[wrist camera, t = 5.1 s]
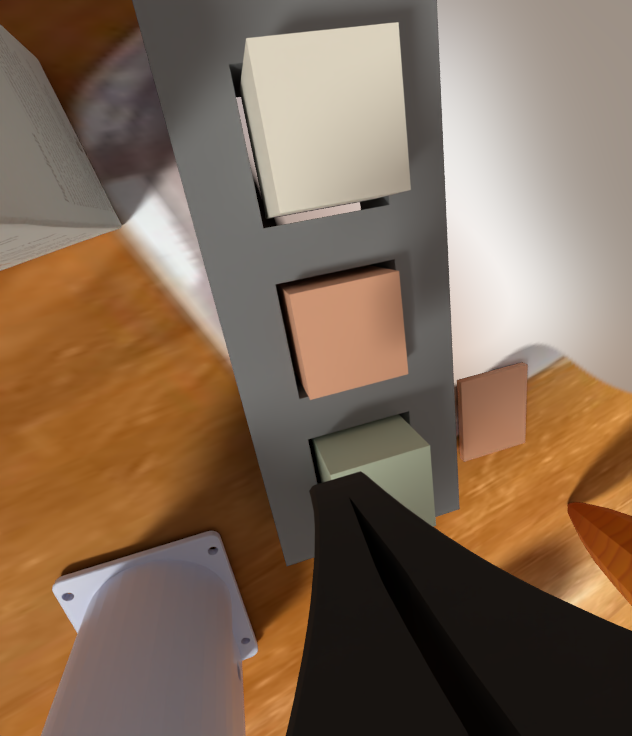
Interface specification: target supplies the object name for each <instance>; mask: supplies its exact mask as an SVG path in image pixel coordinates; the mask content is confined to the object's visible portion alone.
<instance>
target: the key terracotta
mask: <svg viewBox="0 0 632 736" xmlns="http://www.w3.org/2000/svg"><path fill="white" fill-rule="evenodd" d="M276 287H277V292H278V297H279V302H280V306H281V311H282V316H283V321H284V325H285V330H286V335H287V340H288V344H289V349H290V354H291V359H292V363H293V368H294V371H295V373H296V375H297V376H298V378H299V380H300V382H301V384H302V386H303V387H304V389H305V391H306V393H307V395H308V397H309V398H310V400H312V399H316V398H320V397H323V396H327V395H331V394H335V393H339V392H342V391H346V390H350V389H354V388H358V387H361V386H365V385H369V384H373V383H376V382H380V381H384V380H388V379H392V378H395V377H399V376H403V375H407V374H408V364H407V353H406V342H405V331H404V320H403V309H402V298H401V287H400V276H399V271H397V270H391V269H386V268H381V267H376V266H371V265H365V266H360V267H355V268H351V269H346V270H341V271H336V272H332V273H327V274H322V275H318V276H313V277H308V278H303V279H299V280H294V281H289V282H284V283H280V284H276Z"/></svg>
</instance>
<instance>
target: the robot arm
mask: <svg viewBox="0 0 632 736" xmlns="http://www.w3.org/2000/svg"><path fill="white" fill-rule="evenodd" d="M309 493H310V497H311V502H312V506H313V511H314V523H315V552H314V570H313V582H312V593H311V603H310V611H309V619H308V626H307V632H306V638H305V645H304V651H303V656H302V662H301V667H300V672H299V677H298V682H297V687H296V692H295V697H294V702H293V706H292V711H291V716H290V720H289V724H288V729H287V733H286V736H632V631H631V630H628V629H626V628H623V627H621V626H618V625H616V624H614V623H611V622H609V621H607V620H605V619H602V618H600V617H598V616H596V615H594V614H591V613H589V612H587V611H585V610H583V609H581V608H578V607H576V606H574V605H572V604H570V603H568V602H565V601H563V600H561V599H559V598H557V597H554V596H552V595H550V594H548V593H546V592H544V591H542V590H540V589H538V588H536V587H534V586H532V585H530V584H528V583H526V582H524V581H522V580H520V579H518V578H517V577H515V576H513V575H511V574H509V573H507V572H506V571H504V570H502V569H500V568H498V567H497V566H495V565H493V564H491V563H489V562H488V561H486V560H484V559H483V558H481V557H479V556H478V555H476V554H474V553H473V552H471V551H469V550H468V549H466V548H465V547H463V546H461V545H460V544H458V543H457V542H455V541H454V540H452V539H451V538H449V537H447V536H446V535H444V534H443V533H441V532H440V531H439V530H437V529H436V528H434V527H433V526H431V525H430V524H428V523H427V522H426V521H424V520H423V519H421V518H420V517H419V516H417V515H416V514H415V513H413V512H412V511H410V510H409V509H408V508H406V507H405V506H404V505H402V504H401V503H400V502H399V501H397V500H396V499H395V498H393V497H392V496H391V495H390V494H388V493H387V492H386V491H385V490H384V489H382V488H381V487H380V486H379V485H377V484H376V483H375V482H374V481H373V480H372V479H370V478H369V477H368V476H367V475H366V474H364V473H363V472H361V471H359V472H356V473H353V474H350V475H346V476H343V477H340V478H336V479H333V480H330V481H326V482H323V483H320V484H316V485H313V486H312V487H311V489H310V490H309ZM211 547H217V548H215V549H209V548H211ZM52 590H53V593H54V595H55V596H56V598H57V600H58V601H59V603H60V605H61V606H62V608H63V610H64V611H65V613H66V615H67V616H68V618H69V620H70V621H71V623H72V625H73V626H74V628H75V630H76V631H77V633H78V634H77V637H76V640H75V642H74V645H73V648H72V651H71V653H70V656H69V659H68V662H67V665H66V667H65V670H64V673H63V676H62V678H61V681H60V684H59V687H58V690H57V692H56V695H55V698H54V701H53V703H52V706H51V709H50V712H49V715H48V717H47V720H46V723H45V726H44V728H43V731H42V734H41V736H246V735H245V714H244V694H243V674H242V660H245V659H247V658H250V657H252V656H254V655H255V654H256V653H257V651H258V645H257V641H256V638H255V635H254V632H253V629H252V626H251V623H250V620H249V618H248V615H247V612H246V609H245V606H244V603H243V600H242V597H241V594H240V592H239V589H238V586H237V583H236V580H235V577H234V574H233V571H232V568H231V566H230V563H229V560H228V557H227V554H226V551H225V548H224V545H223V542H222V540H221V537H220V535H219V533H218V532H216V531H207V532H204V533H200V534H197V535H194V536H191V537H187V538H184V539H181V540H178V541H174V542H171V543H168V544H165V545H161V546H158V547H155V548H152V549H148V550H145V551H142V552H139V553H135V554H132V555H129V556H126V557H122V558H119V559H116V560H113V561H109V562H106V563H103V564H100V565H96V566H93V567H90V568H87V569H83V570H80V571H77V572H74V573H70V574H67V575H64V576H61V577H59V578H58V579H57V580H56V581H55V583H54V585H53V588H52ZM68 593H72V594H68Z"/></svg>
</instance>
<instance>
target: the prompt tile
mask: <svg viewBox="0 0 632 736" xmlns="http://www.w3.org/2000/svg"><path fill="white" fill-rule="evenodd" d="M527 368H528V365H527V364H525V363H523V362H522V363H518V364H514V365H511V366H507V367H503V368H500V369H496V370H492V371H489V372H485V373H482V374H478V375H474V376H470V377H467V378H463V379H459V380H457V394H458V418H459V443H460V458H461V459H462V460H463V461H464V462H465V461H468V460H471V459H474V458H478V457H481V456H484V455H487V454H490V453H494V452H497V451H500V450H503V449H506V448H510V447H513V446H516V445H519V444H523V443H525V430H526V399H527Z"/></svg>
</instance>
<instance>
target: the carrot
mask: <svg viewBox="0 0 632 736" xmlns="http://www.w3.org/2000/svg"><path fill="white" fill-rule="evenodd" d="M568 514H569V517H570V519H571V521H572V523H573V525H574V527H575V529H576V531H577V533H578V535H579V537H580V539H581V541H582V542H583V544H584V546H585V547H586V549H587V550H588V552H589V554H590V555H591V557H592V558H593V560H594V561H595V563H596V564H597V565H598V566H599V568H600V569H601V570H602V571H603V572H604V574H605V575H606V576H607V577H608V579H609V580H610V581H611V582H612V584H613V585H614V586H615V587H616V588H617V589H618V591H619V592H620V593H621V594H622V595H623V596H624V597H625V599H626V600H627V601H628V602H629V603H630V604H631V606H632V516H630V515H627V514H624V513H621V512H618V511H615V510H612V509H608V508H604V507H600V506H595V505H590V504H586V503H581V502H574V503H569V504H568Z"/></svg>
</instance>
